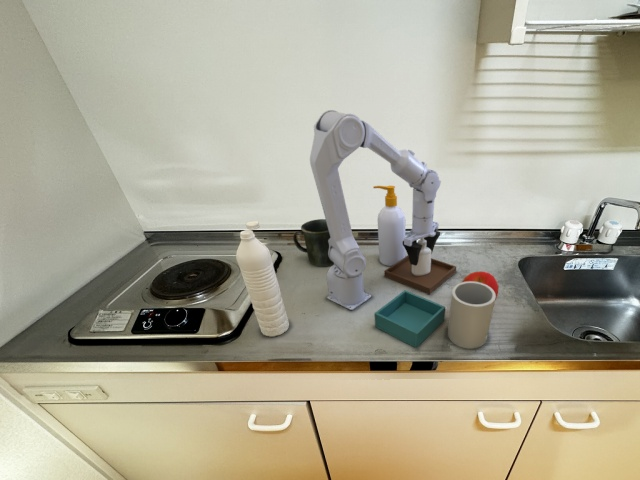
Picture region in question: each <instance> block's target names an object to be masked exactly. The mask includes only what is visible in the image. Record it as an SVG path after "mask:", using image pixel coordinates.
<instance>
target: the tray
mask: <svg viewBox="0 0 640 480" xmlns="http://www.w3.org/2000/svg"><path fill="white" fill-rule="evenodd" d="M383 273H384V274H383V275H384V276H383V277H384V278H386V279H389V280H391V281H394V282H397V283H399V284H402V285H404V286H406V287H409V288H412V289H413V290H416V291H419V292H421V293H424V294H426V295H431V294H432V293H433V292H435V291H437V289H439V287H441V286H442V285H443V284H444V283H446V281H448V280H449V279H450V278H451V277H452V276H454V275H455V274H456V273H457V266H456V265H453V264H450V263H447V262H445V261H441V260H438V259H435V258H432V257H431V269H430V273H428V274H426V275H422V276H415V275H413V273H412V264H410V260H409V257H408V255H407V256H406V255H405V258H403V259H402V260H400V261H399V262H397V263H396V264H394V265H393V266H389V267H388V268H386V269H385V270H384V271H383Z"/></svg>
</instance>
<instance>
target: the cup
mask: <svg viewBox="0 0 640 480" xmlns="http://www.w3.org/2000/svg"><path fill="white" fill-rule="evenodd" d="M495 298H496V294H495V292H494V290H493V289H492V288H491V287H489V286H487V285H486V284H483V283H480V282H474V281H467V282H462V281H461V282H459V283H457V284H456V285H454V286H453V287H452V290H451V298H450V305H449V306H450V307H449V314H448V315H449V317H448V325H447V337H448V339H449V340H450V341H451V343H453V344H454V345H455V346H457V347H460V348H462V349H463V348H464V349H469V350H471V349H477V348H480V347H482V346H483V345H485V344H486V343H487V340H488V336H489V331H490V328H491V327H490V326H491V321H492V316H493V312H494V307H495V303H496V300H495ZM496 299H497V298H496Z"/></svg>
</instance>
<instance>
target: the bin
mask: <svg viewBox="0 0 640 480" xmlns="http://www.w3.org/2000/svg"><path fill="white" fill-rule="evenodd" d="M445 316H446V306H445V305H442V304H440V303H437V302H436V301H432V300H430V299H428V298H425V297H422V296H420V295H417V294H415V293H413V292H410V291H408V290H403V291H402V292H400V293H399V294H398V295H396V296H395V297H394V298H392V299H391V300H389V302H387V303H386V304H385V305H383V306H382V307H380V308H379V309H377V311H375V312H374V326H375V328H376V329H377V330H380V331H382V332H384V333H386V334H388V335H390V336H392V337H393V338H396V339H398V340H400V341H402V342H404V343H406V344H408V345H410V346H412V347H413V348H416V349H417V348H418V347H420V345H421V344H422V343H423V342H424V341H425V340H427V338H429V336H430V335H431V334H432V333H433V332H435V330H436V329H437V328H438V327H439V326H440V325H441V324H442V323H443V322H444V321H445Z"/></svg>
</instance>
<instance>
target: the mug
mask: <svg viewBox="0 0 640 480" xmlns="http://www.w3.org/2000/svg"><path fill="white" fill-rule="evenodd" d="M300 229H301V230H299V231H295V232H294V234H293V236H292V239H293V242H294V245H295V246H296V248H297V249H298V250H299V251H300V252H301V253H302V252H303V253H305V254H307V258H308V262H309V263H310V264H311V265H312V266H315V267H331V266H333V265H334V262H332V261H331V260H330V258H329V256H328V251H329V242H328V240H329V239H330V238H331V237H330V233H329V230H328V226H327V222H326V219H325V218H319V219H313V220H309V221H306V222H304V223H303V224H301V226H300ZM297 236H303V238H304V243H305V247H304V246H302V245H301V244H300V242H299V240H298V237H297Z"/></svg>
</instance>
